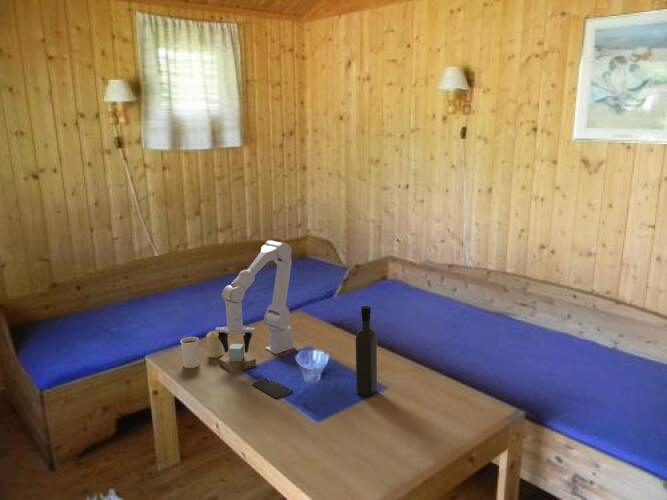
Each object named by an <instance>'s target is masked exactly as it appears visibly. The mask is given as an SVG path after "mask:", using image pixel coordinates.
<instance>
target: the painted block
mask: <svg viewBox="0 0 667 500" xmlns="http://www.w3.org/2000/svg"><path fill="white" fill-rule="evenodd" d="M244 353H245V344H243V343H241V344H240V343H231V344H230V346H229V347H228V355H229V361H242V359H243V358H244Z"/></svg>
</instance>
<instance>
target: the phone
mask: <svg viewBox="0 0 667 500" xmlns="http://www.w3.org/2000/svg"><path fill="white" fill-rule="evenodd" d="M267 378H268V377H266V378H262V379H260V380H257V381H255V382H253V383H252V384H251V386H252V387H254V388H255V389H256V390H259V391H260V392H262V393H264V394H266V395H268V396H269V397H271V398H273V399H274V400H279V399H281V397H282V398H284V397H285V396H284V395H286V394H288V393H290V392H292V393H293V389H291V388H289V387H287V386H285V385H283V384H281V383H279V382H278V381H276V382H277V384H276V382H274V381H275V380H274V381H273V382H272V380H273V379H272V378H270V380H271V379H272V380H271V382H270V381H269V380H268V379H267ZM270 383H271V384H270ZM273 383H274V384H273ZM280 385H281V386H280ZM282 386H283V387H282ZM289 391H290V392H289ZM283 396H284V397H283Z"/></svg>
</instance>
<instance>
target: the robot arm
mask: <svg viewBox="0 0 667 500" xmlns="http://www.w3.org/2000/svg"><path fill="white" fill-rule="evenodd" d="M292 251H293V249H292V247H291V246H290V245H289V244H288V243H287V242H281V241H280V242H279V241H276V240H272V239H269V240H267V241H265V243H264V245H262V246H261V249H260V251H259V253H258V255H257V256H256V257H255V259H253V261H252V263H251V264H250V265H249V266H248V267H247V269H242V270H241V271H240V272H239V273H238V275H237V276H236V278H234V280H233V281H231V284H228V285H226V286H225V287H224V288H223V290H222V293H221V294H220V295H221V298H222V299H223V300H224V304H225V312H226V313H225V314H226V326H221V327H220V326H219V327H218V326H217V327H215V330H216V334H219V336H218V338H219V340H220V341H221V344H222V348H223V349H224V352H225V353H228V352H229V340H228V339H229V338H228V337H229V336H228V335H229V334H230V335H235V334H244V335H243V337H242V338H243V342H244V353H246V354H248V352H249V346H250V342H251V340H252V338H253V337H252V336H253V335H255V334H256V328H255V327H252V326H251V327H250V326H245V325H244V324H243V323H244V322H243V309H242V301H243V300H244V298H245V294H246V292H247V290H248V288H249V287H251V285H252V284H253V283H254V282H255V275H256V274H258V273H259V271H260V270H261V269H263V267H264V266H265V265H266V264H267V263H268V262H272V261H273V262H274V263H275V264H276V272H275V279H274V285H273V286H274V287H273V293H272V302H271V303H270V304H269V305H268V306H267V308H266V312H265V314H264V317H263V322H264V323H265V325H266V327H267V328H268V329H267V330H268V343H269V344H268V346H265V347H264V349H265V350H268V351H269V352H271V353H273V354H274V355H278V354H281V353H283V352H286V351H288V350H293V349H295V347H296V346H295V345H294V343H295V342H294V332H293V328H292V327H291V325H290V324H291V317H290V310H289V308H288V307H287V305H286V304H287V298H288V290H289V284H290V277H291V270H292V261H293V260H292Z"/></svg>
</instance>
